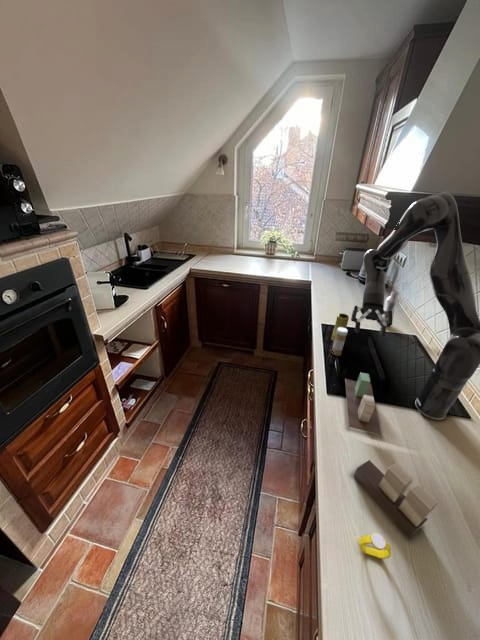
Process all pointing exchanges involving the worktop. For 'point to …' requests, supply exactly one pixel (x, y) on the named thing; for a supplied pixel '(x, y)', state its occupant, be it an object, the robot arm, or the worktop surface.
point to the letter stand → (397, 496)
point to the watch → (377, 543)
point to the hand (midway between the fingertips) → (369, 334)
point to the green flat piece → (362, 384)
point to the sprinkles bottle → (339, 341)
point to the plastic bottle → (391, 304)
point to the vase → (340, 324)
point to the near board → (355, 407)
